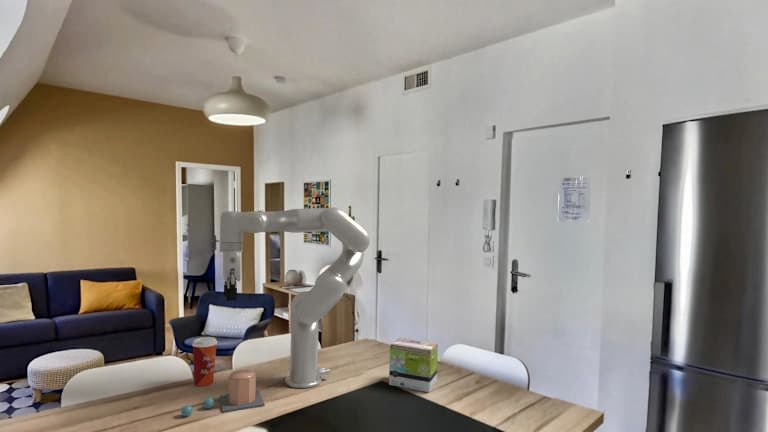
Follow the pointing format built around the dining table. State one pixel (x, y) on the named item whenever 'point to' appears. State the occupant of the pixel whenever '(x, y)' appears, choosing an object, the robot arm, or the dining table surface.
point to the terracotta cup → (242, 387)
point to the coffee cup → (204, 360)
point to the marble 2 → (208, 403)
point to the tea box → (413, 364)
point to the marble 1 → (186, 410)
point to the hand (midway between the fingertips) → (230, 298)
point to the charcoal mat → (231, 407)
